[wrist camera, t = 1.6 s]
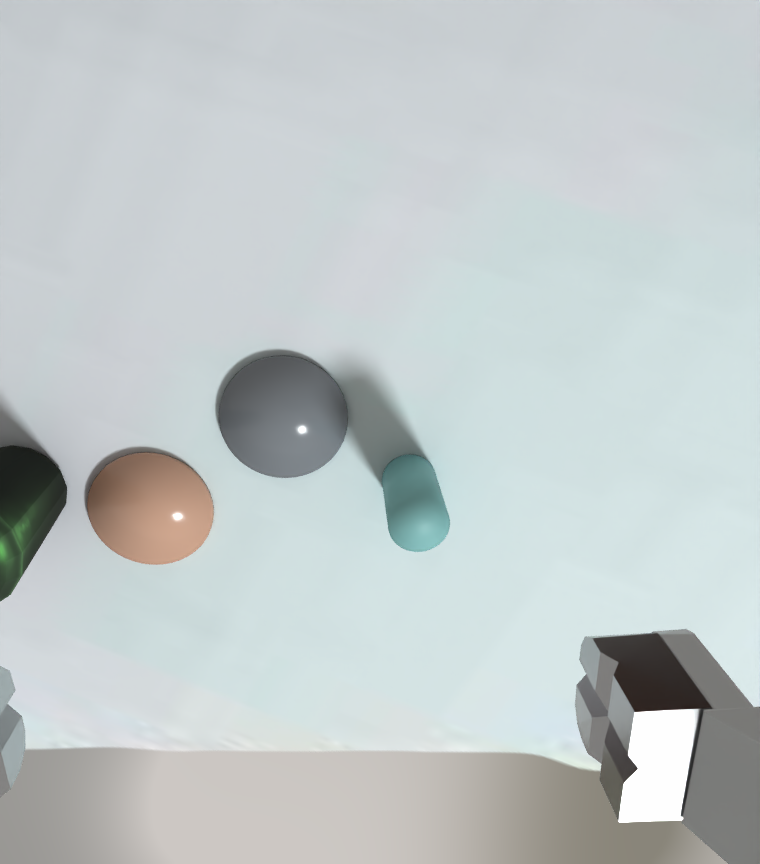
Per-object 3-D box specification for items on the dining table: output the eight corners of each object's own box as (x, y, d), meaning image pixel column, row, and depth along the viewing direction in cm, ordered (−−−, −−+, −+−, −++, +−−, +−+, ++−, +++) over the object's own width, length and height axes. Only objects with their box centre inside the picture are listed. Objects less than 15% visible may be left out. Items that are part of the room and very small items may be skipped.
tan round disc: (208, 451, 49) (207, 453, 48) (218, 560, 52) (217, 563, 51) (80, 453, 48) (78, 455, 48) (98, 563, 51) (96, 565, 51)
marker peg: (436, 454, 50) (451, 496, 43) (435, 503, 51) (448, 551, 45) (382, 454, 49) (388, 497, 43) (381, 504, 51) (387, 552, 44)
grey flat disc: (346, 355, 47) (346, 356, 46) (348, 474, 50) (348, 476, 49) (214, 356, 46) (213, 357, 46) (224, 476, 49) (223, 478, 49)
